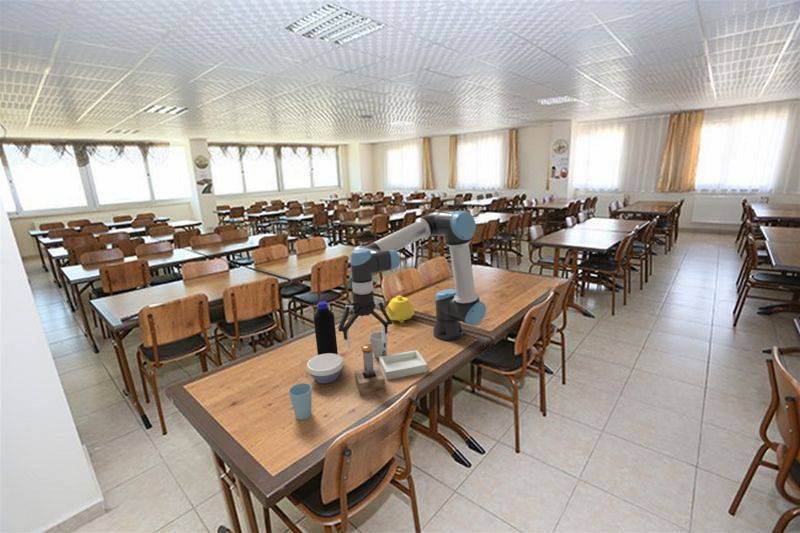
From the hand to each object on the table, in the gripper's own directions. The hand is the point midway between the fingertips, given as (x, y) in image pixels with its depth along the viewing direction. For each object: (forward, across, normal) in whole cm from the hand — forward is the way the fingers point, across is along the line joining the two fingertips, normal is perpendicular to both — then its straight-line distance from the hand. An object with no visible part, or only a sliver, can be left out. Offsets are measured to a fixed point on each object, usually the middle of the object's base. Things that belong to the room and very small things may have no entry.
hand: (366, 344), depth 143 cm
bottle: (+18, +14, -26) cm, 35 cm away
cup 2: (+18, -10, -23) cm, 31 cm away
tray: (+18, -16, -9) cm, 26 cm away
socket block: (+18, 0, 0) cm, 18 cm away
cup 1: (+19, +26, +10) cm, 33 cm away
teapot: (+18, -28, -60) cm, 69 cm away
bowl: (+18, +16, -12) cm, 27 cm away
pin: (+18, 0, 0) cm, 18 cm away
